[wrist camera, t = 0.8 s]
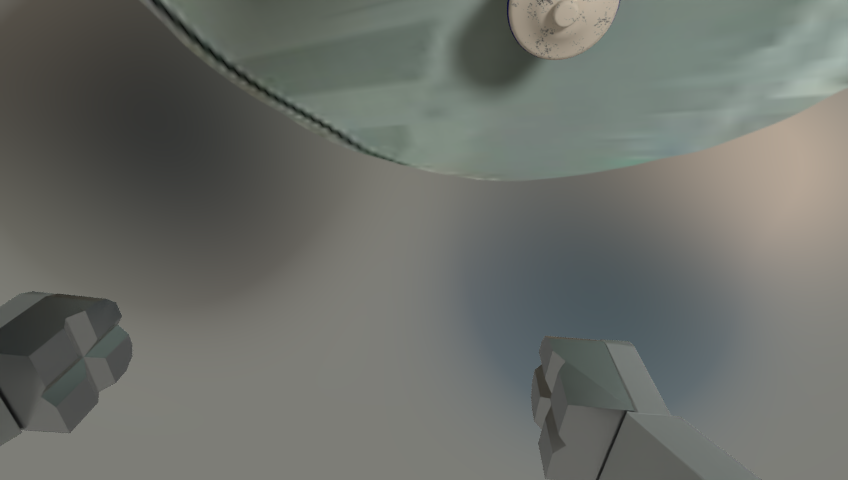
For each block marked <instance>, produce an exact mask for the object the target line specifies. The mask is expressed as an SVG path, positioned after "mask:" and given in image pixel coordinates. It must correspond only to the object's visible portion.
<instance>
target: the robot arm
mask: <svg viewBox="0 0 848 480" xmlns="http://www.w3.org/2000/svg"><path fill="white" fill-rule="evenodd" d="M121 317H122V315H121V313H120V311H119V308H118V306H117V304H116V302H113V301H111V300H108V299H102V298H93V297H85V296H75V295H66V294H52V293H43V292H34V291H32V292H27V293H21V294H19V295H17V296H16V297H14V298H12V299H11V300H9V301H8V302H6V303H5V304H3V305H2V306H0V446H1V445H3V444H4V443H6V442H8V441H9V440H11V439H13V438H14V437H16V436H17V435H19V434H21V433H22V431H21V430H28V431H43V432H58V433H71V431H72V430H73V429H74V428H75V427H76V426H77V425H78V424H79V423H80V422H81V420H82V419H83V418H84V417H85V416H86V415H87V414H88V413H89V412H90V411H91V410H92V408H93V407H94V406H95V405H96V404H97V403H98V398H99V392H100V391H101V390H103V389H105V388H107V387H109V386H111V385H113V384H115V383H116V382H117V381H118V380H119V379H120V377H121V376H122V375H123V374H124V373H125V372H126V370H127V368H128V365H129V362H130V360H131V358H132V342H131V339H130V337H129V334H128V333H127V332H125V331H124V330H123V329H122V328H121V327H120V326H119V325H118V323H119V321H120V319H121ZM539 354H540V358H541V363H542V365H540V366H539V367H538V368H536V369H535V371H534V376H533V381H532V394H531V401H532V411H533V416H534V422H535V423H536V424H537V425H538V426H539V427H540V428H541V429H542V431H541V435H540V439H539V443H538V444H539V450H540V454H541V460H542V464H543V470H544V475H545V479H550V480H762V479H760V478H759V477H758V476H756V475H755V474H754V473H752V472H751V471H750V470H748V469H747V468H746V467H745V466H743V465H742V464H741V463H740V462H738V461H737V460H736V459H735V458H733V457H732V456H731V455H729V454H728V453H727V452H725V451H724V450H723V449H722V448H720V447H719V446H717V445H716V444H715V443H714V442H713V441H711V440H710V439H709V438H707V437H706V436H705V435H704V434H702V433H701V432H699V431H698V430H697V429H696V428H695V427H693V426H692V425H691V424H689V423H688V422H687V421H686V420H684V419H683V418H682V417H679V416H671V414H670V412H669V411H668V409H667V407H666V405H665V403H664V401H663V400H662V397H661V396H660V394H659V392H658V390H657V388H656V386H655V384H654V382H653V381H652V379H651V377H650V375H649V373H648V371H647V369H646V367H645V366H644V364H643V362H642V360H641V358H640V356H639V354H638V353H637V351H636V349H635V347H634V345H633V344H631V343H630V342H629V341H615V340H614V341H613V340H591V339H579V338H566V337H553V336H545V337H544V338H543V340H542V342H541V346H540V350H539Z"/></svg>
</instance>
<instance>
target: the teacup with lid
mask: <svg viewBox="0 0 848 480" xmlns="http://www.w3.org/2000/svg"><path fill="white" fill-rule="evenodd" d="M619 3H620V0H508V2H507V17H508V23H509V27H510V30H511V32H512V34H513V36H514V38H515V40H516V41H517V42H518V44H519V45H520V46H521V47H522V48H523V49H524V50H526V51H527V52H528V53H530V54H532V55H534V56H536V57H539V58H543V59H548V60H561V59H567V58H571V57H574V56H576V55H578V54H581V53H583V52H584V51H586V50H588V49H589V48H590V47H592V46H593V45H594V44H595V43H597V42H598V41H599V40H600V39H601V37H602V36H603V35H604V34H605V33H606V31H607V30H608V29H609V27H610V25H611V24H612V22H613V20H614V18H615V16H616V13H617V10H618V7H619Z"/></svg>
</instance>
